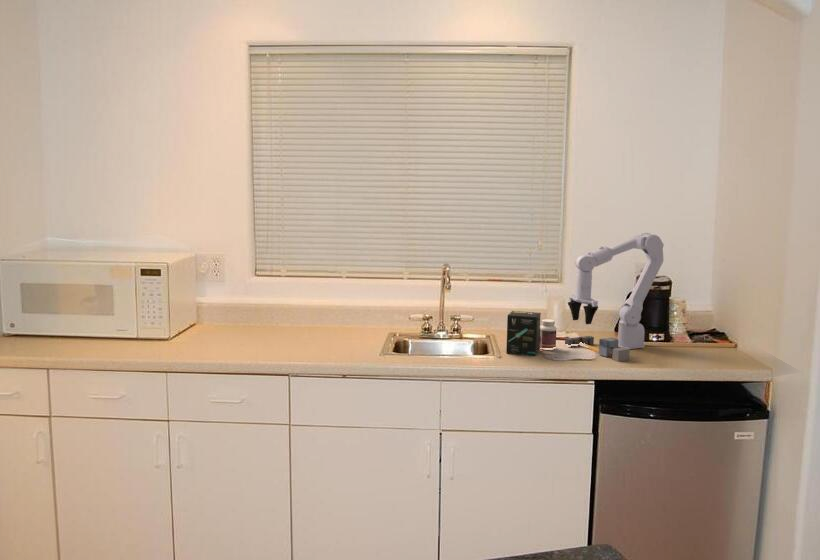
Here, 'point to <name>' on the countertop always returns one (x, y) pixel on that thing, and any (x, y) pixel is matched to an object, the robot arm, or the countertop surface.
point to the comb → (580, 340)
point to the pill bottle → (547, 334)
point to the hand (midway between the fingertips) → (581, 321)
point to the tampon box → (523, 333)
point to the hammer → (615, 353)
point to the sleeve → (607, 346)
